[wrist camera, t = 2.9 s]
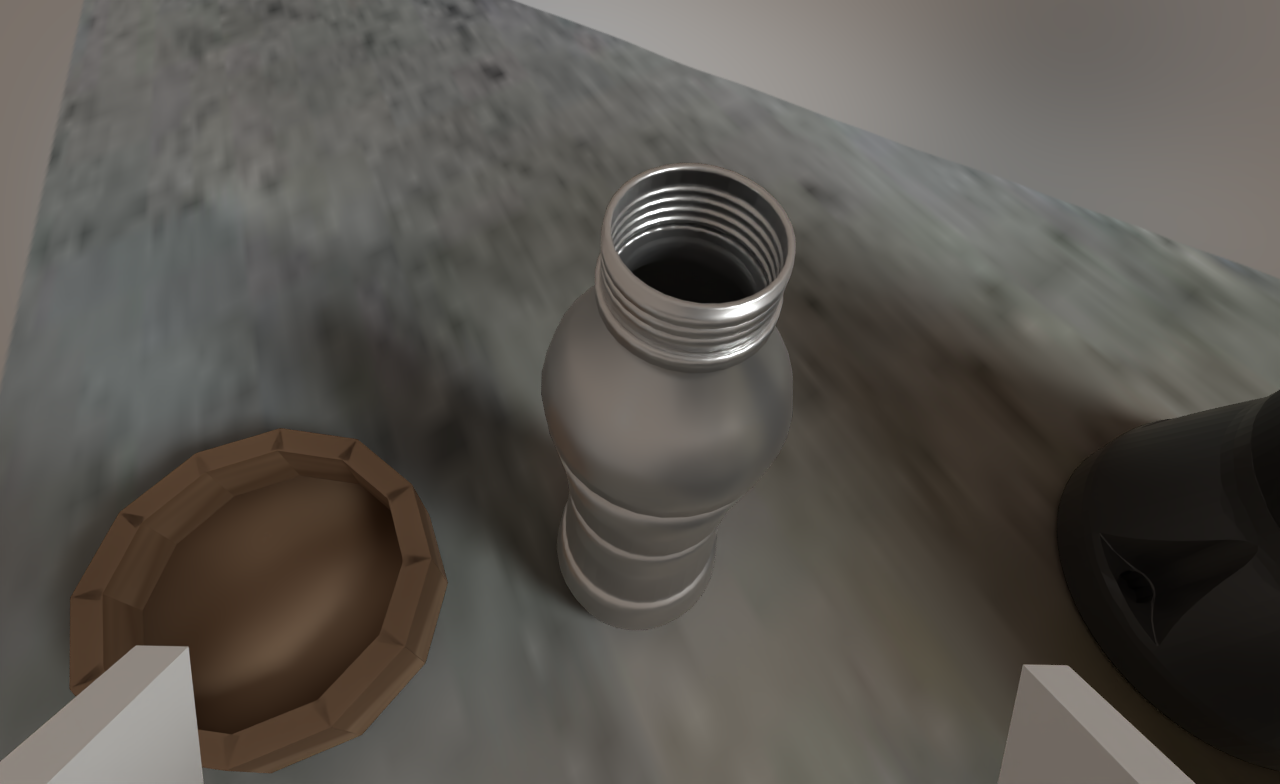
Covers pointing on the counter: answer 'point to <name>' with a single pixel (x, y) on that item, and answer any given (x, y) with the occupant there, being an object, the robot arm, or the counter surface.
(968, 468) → the counter surface
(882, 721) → the counter surface
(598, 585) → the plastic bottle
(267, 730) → the bowl
